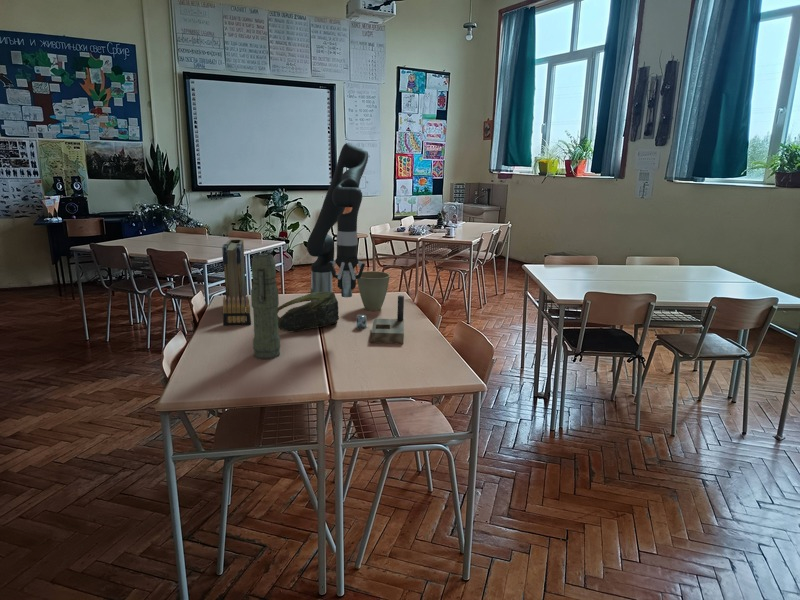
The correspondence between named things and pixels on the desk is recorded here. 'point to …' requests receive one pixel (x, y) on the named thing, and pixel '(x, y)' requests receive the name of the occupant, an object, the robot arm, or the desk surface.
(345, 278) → the tall pin
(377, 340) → the hole board
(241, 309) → the ammunition clip
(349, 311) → the desk surface
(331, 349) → the desk surface
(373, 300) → the plant pot
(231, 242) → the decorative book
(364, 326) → the short pin
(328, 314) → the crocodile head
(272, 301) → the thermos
